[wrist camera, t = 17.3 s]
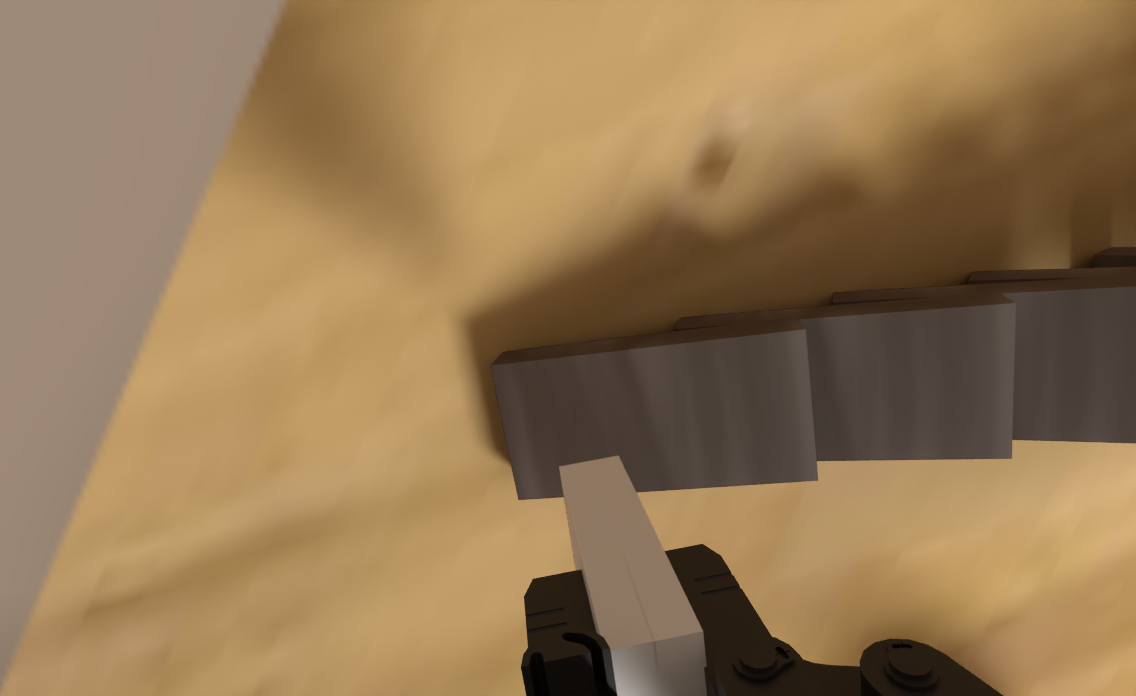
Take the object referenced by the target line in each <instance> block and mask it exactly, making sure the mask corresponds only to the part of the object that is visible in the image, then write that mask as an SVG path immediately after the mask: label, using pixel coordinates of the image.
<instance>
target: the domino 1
mask: <svg viewBox="0 0 1136 696" xmlns="http://www.w3.org/2000/svg"><path fill="white" fill-rule="evenodd" d="M490 368H491V372H492V377H493V382H494V387H495V391H496V396H497V401H498V405H499V410H500V415H501V420H502V424H503V429H504V434H505V438H506V443H507V448H508V453H509V457H510V462H511V467H512V472H513V476H514V481H515V486H516V490H517V495H518V500H526V499H542V498H557V497H564V495H563V489H562V482H561V476H560V470H559V466H565V465H570V464H575V463H581V462H586V461H592V460H597V459H603V458H608V457H614V456H619V458H620V460H621V462H622V464H623V466H624V468H625V470H626V472H627V474H628V476H629V478H630V480H631V482H632V485H633V487H634V489H635V491H636V492H649V491H665V490H680V489H695V488H711V487H726V486H741V485H757V484H772V483H787V482H803V481H818V474H817V461H816V449H815V437H814V424H813V412H812V400H811V387H810V375H809V363H808V350H807V338H806V329H805V327H804V326H803V324H802V323H801V321H800V320H799V318H798V317H791V318H783V319H774V320H766V321H758V322H749V323H741V324H733V325H724V326H716V327H708V328H699V329H691V330H682V331H674V332H666V333H657V334H649V335H641V336H632V337H624V338H616V339H607V340H599V341H591V342H582V343H574V344H566V345H557V346H549V347H541V348H532V349H524V350H515V351H507V352H503V353H502V354H501V355H500V356H499V357H498V358H497V359H496V360H495V361H494V362H493V363H492V364H491V365H490Z"/></svg>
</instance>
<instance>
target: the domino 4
mask: <svg viewBox="0 0 1136 696" xmlns="http://www.w3.org/2000/svg"><path fill="white" fill-rule="evenodd" d="M1107 267H1136V247H1112V248H1110V249H1108V250H1105V251H1103V252H1101V253H1099V254H1096V255H1095V264H1094V268H1107Z"/></svg>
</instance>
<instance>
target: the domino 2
mask: <svg viewBox="0 0 1136 696" xmlns="http://www.w3.org/2000/svg"><path fill="white" fill-rule="evenodd" d="M791 317H798V318H799V320H800V321H801V323H802V324H803V326H804V327H805V329H806V338H807V350H808V363H809V375H810V387H811V400H812V412H813V424H814V437H815V449H816V461H857V460H939V459H1012V430H1013V394H1014V359H1015V323H1016V303H1015V302H1013V301H1012V300H1010V299H1008V298H1007V297H1005V296H1003V295H1002V294H1000V293H998V292H991V293H979V294H966V295H954V296H942V297H929V298H917V299H905V300H892V301H880V302H868V303H855V304H843V305H831V306H818V307H806V308H793V309H781V310H769V311H756V312H744V313H732V314H719V315H707V316H695V317H682V318H680V320H679V322H678V324H677V326H676V328H675V331H682V330H691V329H699V328H708V327H716V326H724V325H733V324H741V323H749V322H758V321H766V320H774V319H783V318H791Z"/></svg>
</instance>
